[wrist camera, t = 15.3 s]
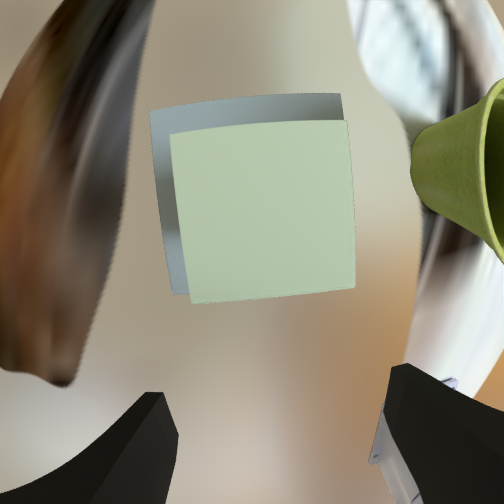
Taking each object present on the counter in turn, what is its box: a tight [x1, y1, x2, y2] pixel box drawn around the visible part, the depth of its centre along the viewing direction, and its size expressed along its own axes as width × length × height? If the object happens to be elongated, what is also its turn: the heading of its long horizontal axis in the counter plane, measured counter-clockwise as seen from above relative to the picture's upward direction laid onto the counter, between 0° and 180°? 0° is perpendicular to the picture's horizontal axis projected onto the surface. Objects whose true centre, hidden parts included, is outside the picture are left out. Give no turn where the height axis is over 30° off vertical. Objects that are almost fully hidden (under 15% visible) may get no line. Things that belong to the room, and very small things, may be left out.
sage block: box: [170, 120, 356, 304], centre depth 9 cm, size 4×4×5 cm
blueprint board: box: [150, 93, 344, 295], centre depth 17 cm, size 11×11×1 cm
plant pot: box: [410, 78, 504, 264], centre depth 13 cm, size 9×9×9 cm
